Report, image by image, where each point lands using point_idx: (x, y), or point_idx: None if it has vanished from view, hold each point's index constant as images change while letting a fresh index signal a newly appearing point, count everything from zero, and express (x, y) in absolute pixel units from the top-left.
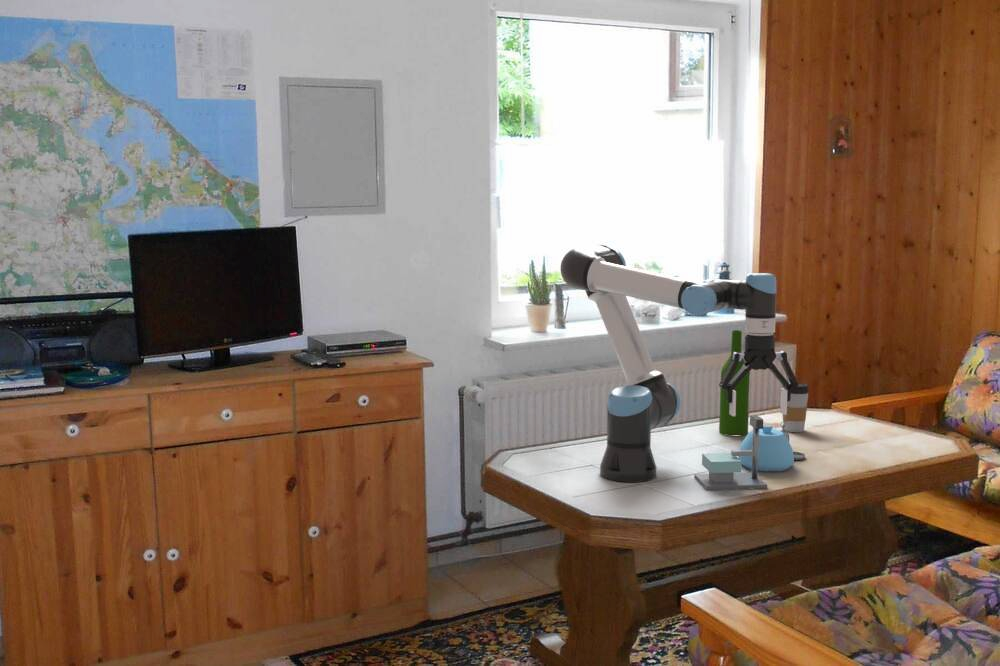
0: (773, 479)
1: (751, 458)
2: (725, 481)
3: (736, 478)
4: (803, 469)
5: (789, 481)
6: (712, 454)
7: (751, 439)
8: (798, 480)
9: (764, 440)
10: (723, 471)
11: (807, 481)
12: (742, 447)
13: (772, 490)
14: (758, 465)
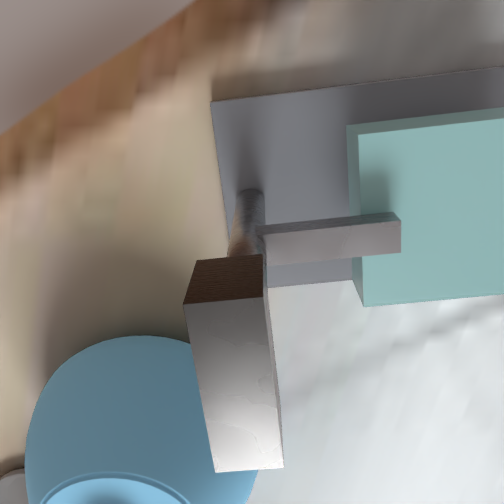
0: (157, 239)
1: None
2: None
3: (334, 200)
4: (14, 369)
5: (91, 212)
6: (486, 273)
7: (211, 481)
8: (50, 227)
9: (150, 451)
10: (451, 114)
11: (12, 213)
12: None
13: (192, 69)
14: None
